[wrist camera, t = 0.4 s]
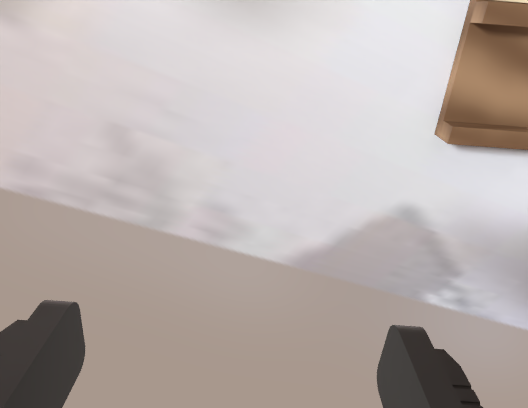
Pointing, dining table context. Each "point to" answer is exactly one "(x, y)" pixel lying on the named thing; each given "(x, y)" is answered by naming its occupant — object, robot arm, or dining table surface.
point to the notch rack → (489, 78)
